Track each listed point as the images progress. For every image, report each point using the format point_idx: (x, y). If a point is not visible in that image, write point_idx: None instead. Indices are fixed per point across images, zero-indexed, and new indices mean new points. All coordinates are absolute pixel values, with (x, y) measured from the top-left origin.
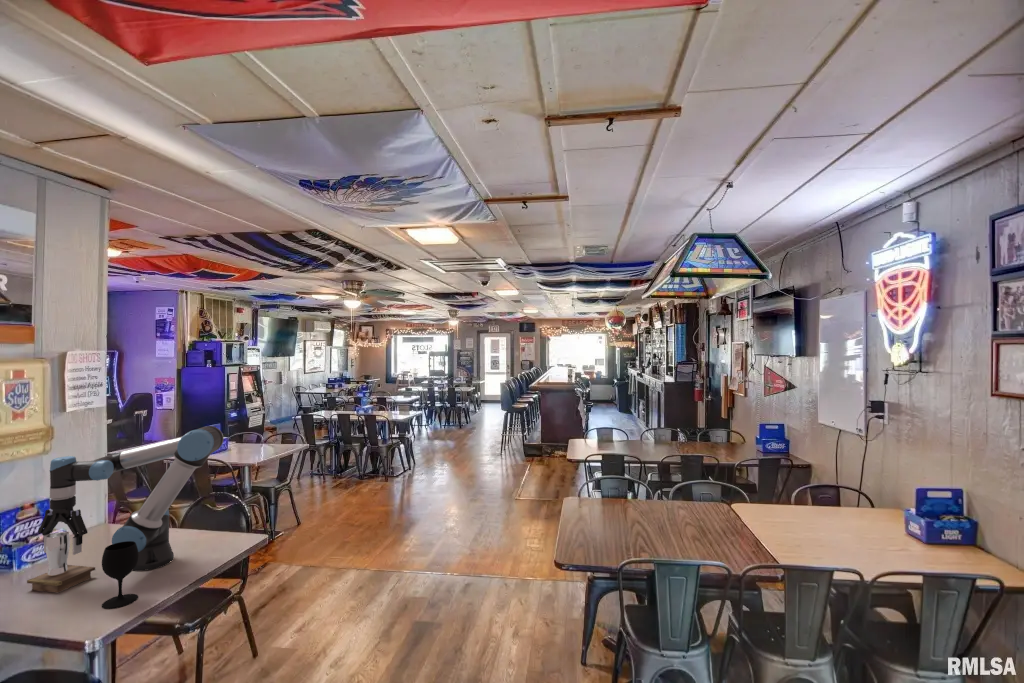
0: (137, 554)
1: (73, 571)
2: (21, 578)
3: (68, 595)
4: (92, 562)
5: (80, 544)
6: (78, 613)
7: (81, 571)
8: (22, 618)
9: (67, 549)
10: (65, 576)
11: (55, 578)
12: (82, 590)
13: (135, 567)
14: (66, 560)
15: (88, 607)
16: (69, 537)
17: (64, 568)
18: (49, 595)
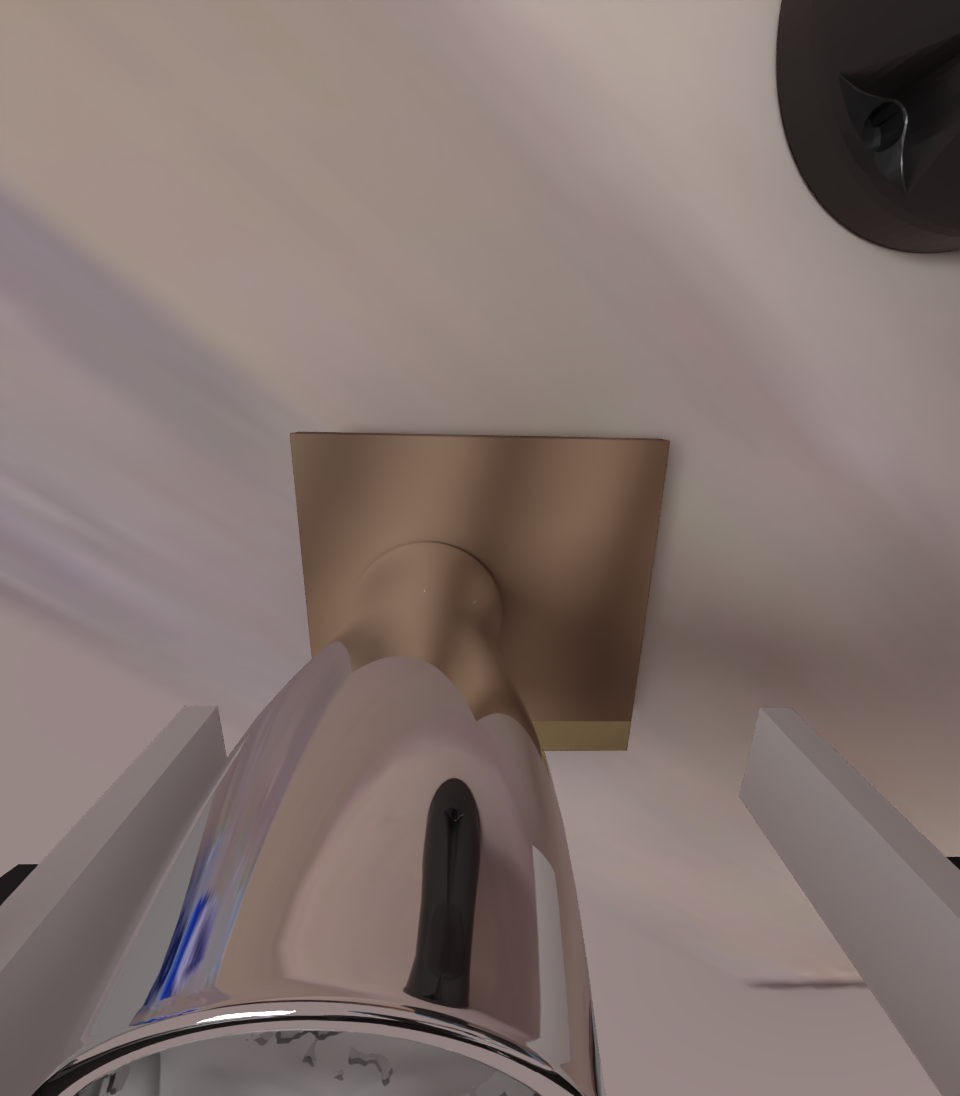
0: None
1: (539, 558)
2: (15, 543)
3: (696, 699)
4: (248, 95)
5: (894, 832)
6: (941, 836)
7: (619, 547)
8: (681, 908)
9: (540, 743)
10: (570, 651)
11: (521, 691)
12: (730, 632)
13: (950, 243)
14: (491, 635)
15: (950, 786)
16: (535, 880)
17: (499, 627)
18: None
